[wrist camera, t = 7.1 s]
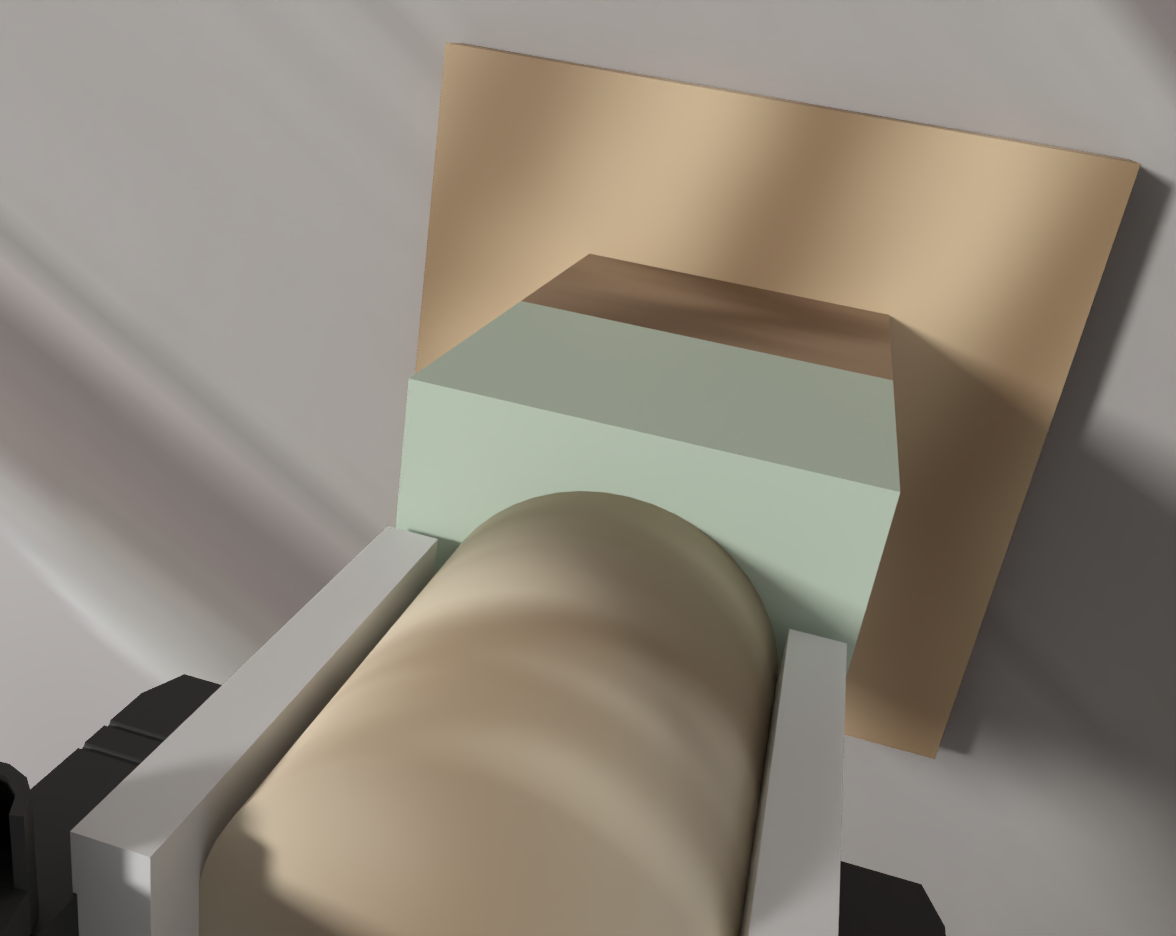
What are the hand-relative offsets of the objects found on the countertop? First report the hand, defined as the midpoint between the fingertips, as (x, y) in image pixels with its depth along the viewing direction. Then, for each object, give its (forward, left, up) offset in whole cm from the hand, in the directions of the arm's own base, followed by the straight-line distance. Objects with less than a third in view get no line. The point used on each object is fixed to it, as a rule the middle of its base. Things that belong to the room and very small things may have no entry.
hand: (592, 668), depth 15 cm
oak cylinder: (0, 0, 0) cm, 0 cm away
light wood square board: (0, 0, -11) cm, 11 cm away
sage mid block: (0, 0, -5) cm, 5 cm away
